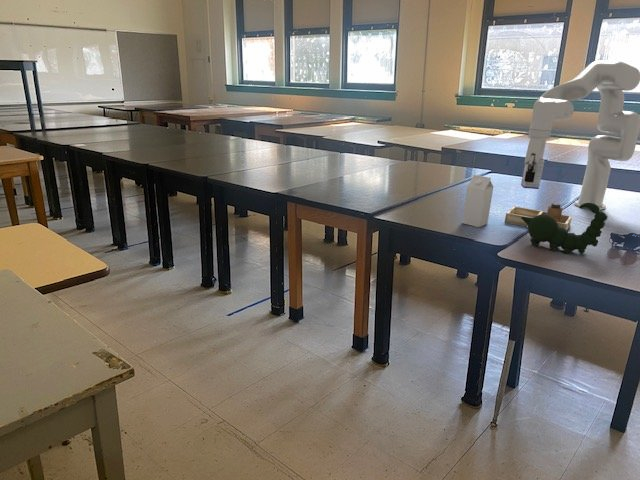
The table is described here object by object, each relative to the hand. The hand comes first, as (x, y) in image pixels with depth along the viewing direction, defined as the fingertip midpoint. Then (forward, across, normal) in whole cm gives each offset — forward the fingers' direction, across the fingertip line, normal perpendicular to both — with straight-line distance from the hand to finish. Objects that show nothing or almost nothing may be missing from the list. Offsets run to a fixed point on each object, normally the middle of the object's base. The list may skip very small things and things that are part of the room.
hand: (531, 179), depth 188 cm
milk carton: (+17, +16, -15) cm, 28 cm away
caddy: (+17, 0, +5) cm, 18 cm away
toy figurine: (+17, +26, +16) cm, 35 cm away
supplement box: (+3, 0, 0) cm, 3 cm away
